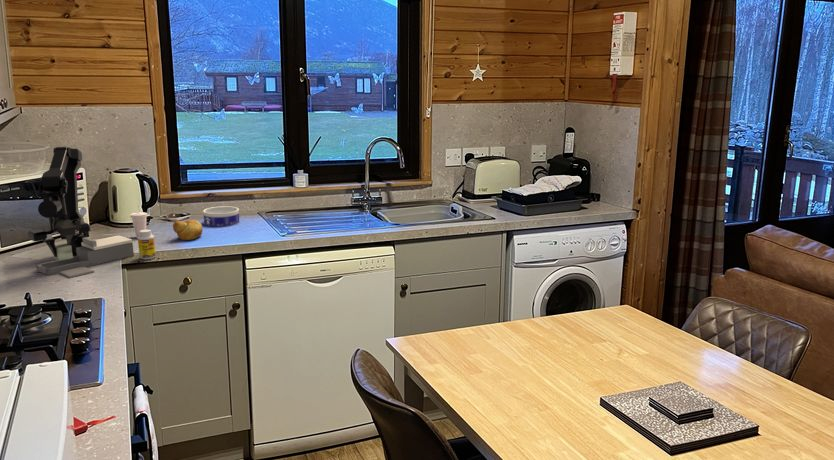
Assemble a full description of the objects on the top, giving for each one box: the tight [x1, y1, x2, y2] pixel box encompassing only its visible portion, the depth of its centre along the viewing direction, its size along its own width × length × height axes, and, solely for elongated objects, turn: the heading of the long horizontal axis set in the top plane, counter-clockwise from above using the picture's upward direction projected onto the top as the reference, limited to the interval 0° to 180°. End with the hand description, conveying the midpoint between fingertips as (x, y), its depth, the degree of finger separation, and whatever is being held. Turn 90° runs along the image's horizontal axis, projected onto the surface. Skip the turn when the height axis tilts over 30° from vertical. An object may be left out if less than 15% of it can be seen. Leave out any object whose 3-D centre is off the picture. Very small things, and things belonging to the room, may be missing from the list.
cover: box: [81, 235, 133, 250], centre depth 248 cm, size 10×14×3 cm
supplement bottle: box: [137, 229, 157, 260], centre depth 249 cm, size 6×6×10 cm
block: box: [53, 242, 74, 261], centre depth 237 cm, size 4×4×4 cm
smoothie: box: [130, 202, 148, 239], centre depth 278 cm, size 6×6×14 cm
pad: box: [59, 266, 95, 279], centre depth 232 cm, size 8×8×1 cm
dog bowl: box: [202, 205, 240, 227], centre depth 303 cm, size 15×15×6 cm
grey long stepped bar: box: [35, 241, 135, 276], centre depth 243 cm, size 9×30×5 cm, turn 140°
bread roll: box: [172, 219, 203, 241], centre depth 278 cm, size 13×10×8 cm
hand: (63, 255), depth 237 cm, fingers closed on block, 4 cm apart
